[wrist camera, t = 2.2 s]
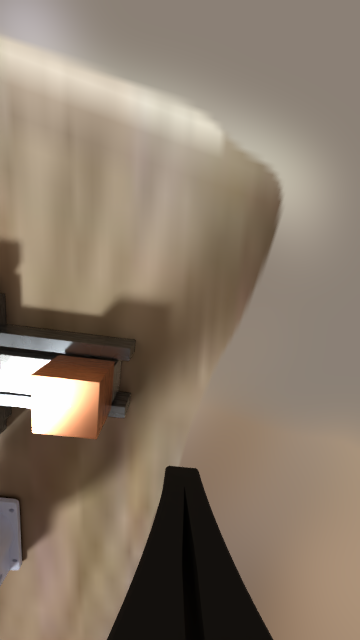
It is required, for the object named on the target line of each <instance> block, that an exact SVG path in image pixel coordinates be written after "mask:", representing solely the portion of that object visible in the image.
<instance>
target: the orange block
mask: <svg viewBox="0 0 360 640" xmlns="http://www.w3.org/2000/svg"><path fill="white" fill-rule="evenodd" d="M120 372H121V360H116V359H108V358H99V357H91V356H82V355H74V354H65V353H57V352H48V351H40V350H31V349H23V348H14V347H6V346H0V391H3V392H12V393H22V394H31V408H32V433H39V434H49V435H59V436H69V437H79V438H89V439H97V437H98V435H99V433H100V431H101V429H102V427H103V425H104V423H105V421H106V419H107V416H108V414H109V412H110V410H111V404H112V401H113V399H114V397H115V395H116V393H117V391H118V389H119V385H120Z"/></svg>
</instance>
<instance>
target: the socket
mask: <svg viewBox="0 0 360 640" xmlns="http://www.w3.org/2000/svg"><path fill="white" fill-rule="evenodd" d="M0 346H6V347H14V348H23V349H31V350H40V351H48V352H57V353H65V354H74V355H82V356H91V357H99V358H108V359H116V360H125V361H129V360H130V359H131V357H132V355H133V353H134V351H135V340H131V339H123V338H115V337H106V336H98V335H90V334H82V333H74V332H66V331H57V330H49V329H41V328H33V327H25V326H17V325H8V324H6V305H5V294H3V293H0ZM130 395H131V393H125V392H117V393H116V395H115V397H114V399H113V401H112V404H111V410H110V412H109V414H108V417H118V418H124V417H125V415H126V412H127V409H128V406H129V404H130ZM11 406H13V407H23V408H31V394H22V393H12V392H3V391H0V434H1V433H2V432H3V431H4V430H5V429H6V419H7V418H8V417H9V416H10V415H11Z"/></svg>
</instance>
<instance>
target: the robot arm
mask: <svg viewBox="0 0 360 640" xmlns="http://www.w3.org/2000/svg"><path fill="white" fill-rule="evenodd" d="M21 565H22V550H21V530H20V510H19V501H18V500H17V499H12V498H0V586H1V584H2V582H3V581H4V579H5V577H6V575H7V574H8V572H9V570H18V569H20V567H21ZM107 640H273V639H272V637H271V635H270V633H269V631H268V629H267V627H266V626H265V624H264V622H263V620H262V618H261V616H260V614H259V612H258V611H257V609H256V607H255V605H254V603H253V601H252V599H251V597H250V595H249V593H248V591H247V589H246V587H245V585H244V583H243V581H242V579H241V577H240V575H239V573H238V570H237V569H236V566H235V564H234V562H233V560H232V557H231V555H230V553H229V551H228V549H227V547H226V544H225V542H224V540H223V537H222V535H221V533H220V530H219V528H218V525H217V523H216V520H215V518H214V515H213V513H212V510H211V507H210V505H209V502H208V499H207V496H206V494H205V491H204V488H203V485H202V482H201V478H200V475H199V472H198V470H197V469H196V468H184V467H175V466H168V467H166V471H165V477H164V484H163V491H162V495H161V499H160V503H159V506H158V509H157V513H156V516H155V519H154V523H153V526H152V529H151V532H150V534H149V537H148V540H147V543H146V546H145V548H144V551H143V554H142V557H141V559H140V562H139V565H138V567H137V570H136V572H135V575H134V577H133V580H132V582H131V585H130V587H129V590H128V592H127V595H126V597H125V599H124V602H123V604H122V606H121V609H120V611H119V613H118V616H117V618H116V620H115V623H114V625H113V627H112V629H111V632H110V634H109V636H108V639H107Z"/></svg>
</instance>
